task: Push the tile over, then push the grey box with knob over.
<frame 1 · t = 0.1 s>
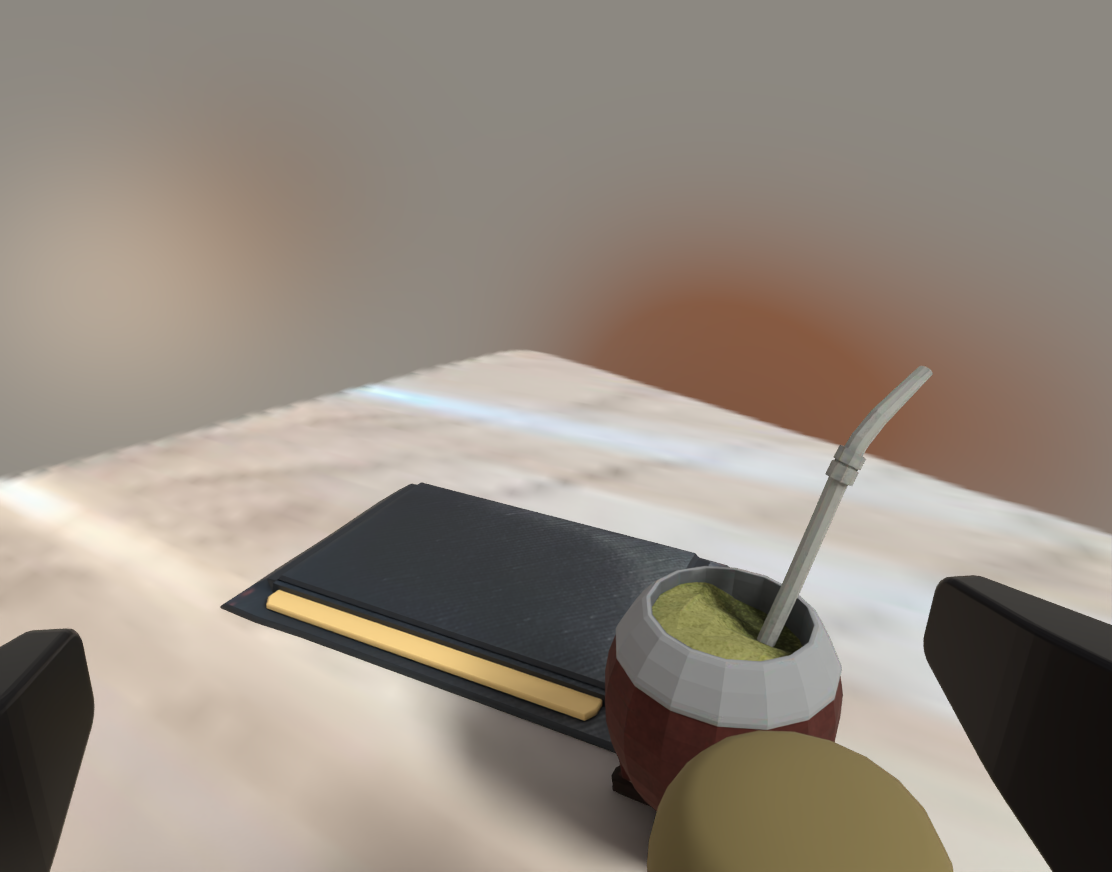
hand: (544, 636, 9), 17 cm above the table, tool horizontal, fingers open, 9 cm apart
mate gourd: (711, 813, 28), on the table
wallet: (493, 602, 40), on the table
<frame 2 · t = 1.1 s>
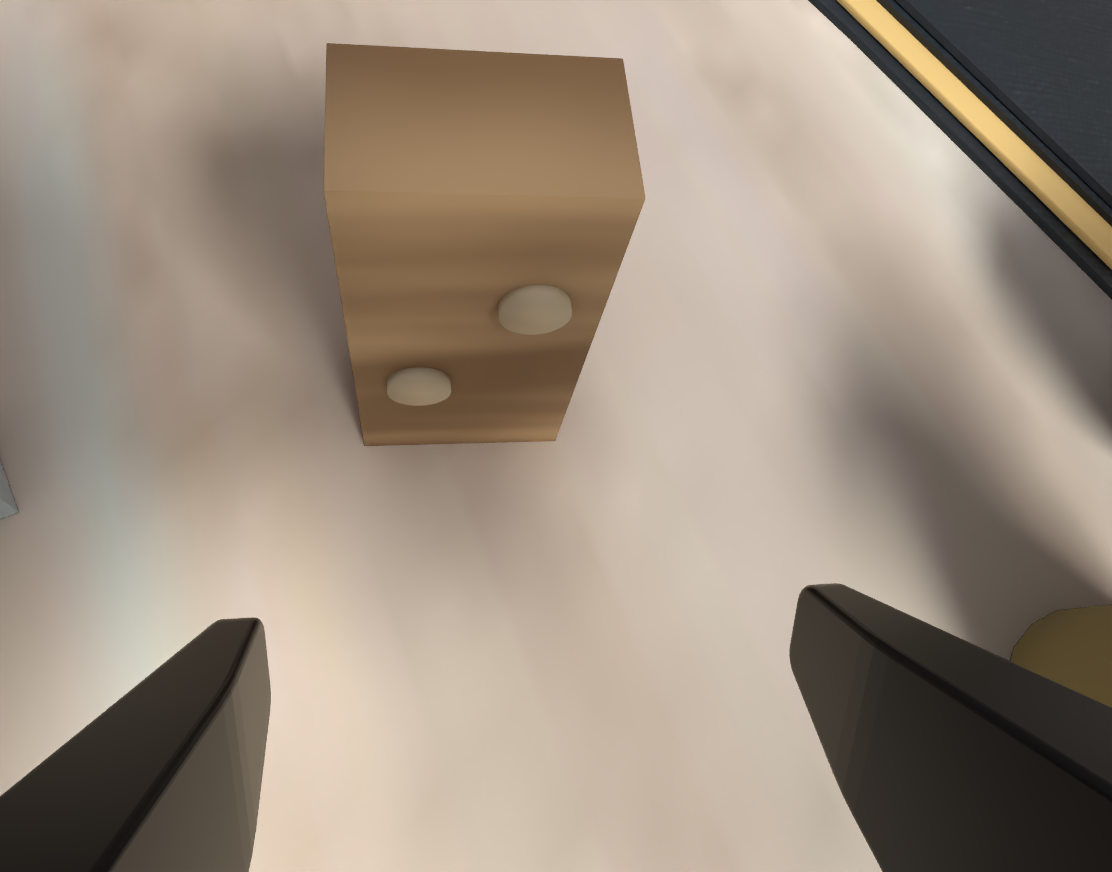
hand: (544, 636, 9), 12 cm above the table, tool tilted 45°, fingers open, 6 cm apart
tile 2: (458, 392, 23), on the table
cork: (1107, 724, 22), on the table
wallet: (1059, 86, 33), on the table
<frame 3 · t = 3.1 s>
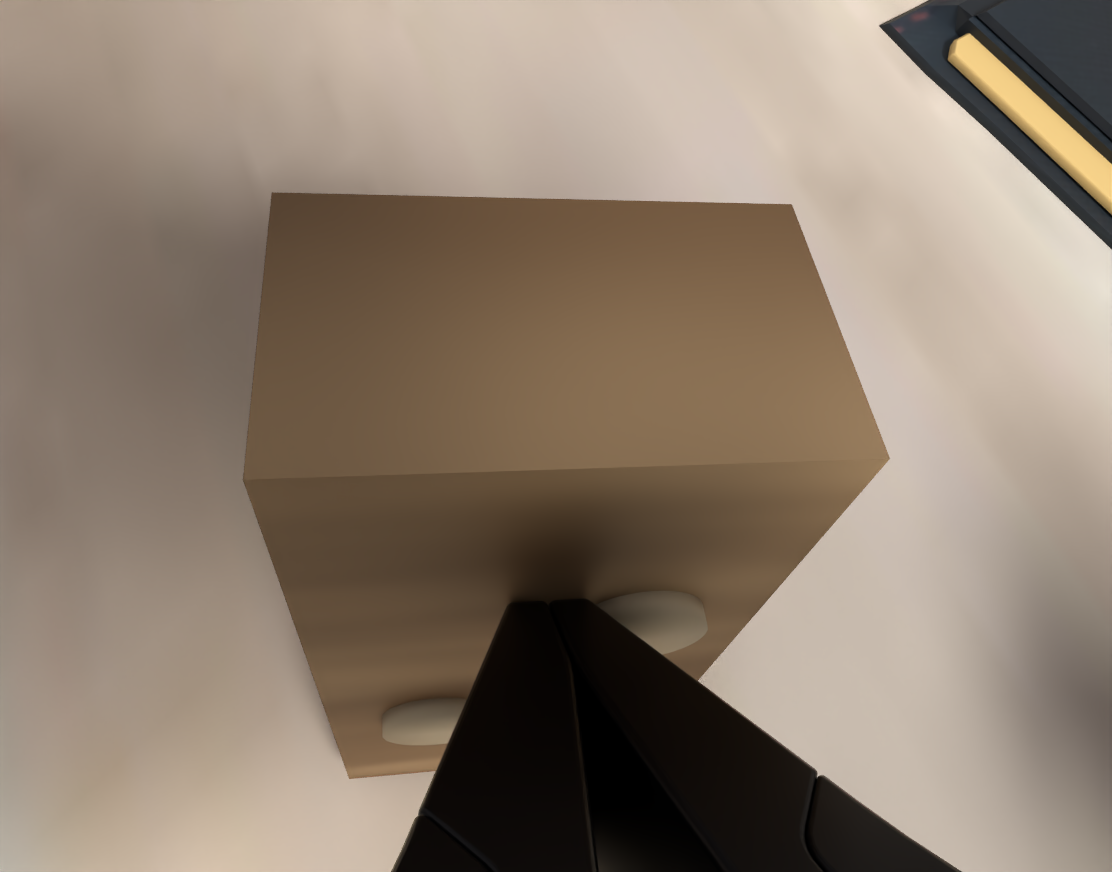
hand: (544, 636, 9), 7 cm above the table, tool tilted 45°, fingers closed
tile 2: (490, 679, 15), on the table, tilted 10°
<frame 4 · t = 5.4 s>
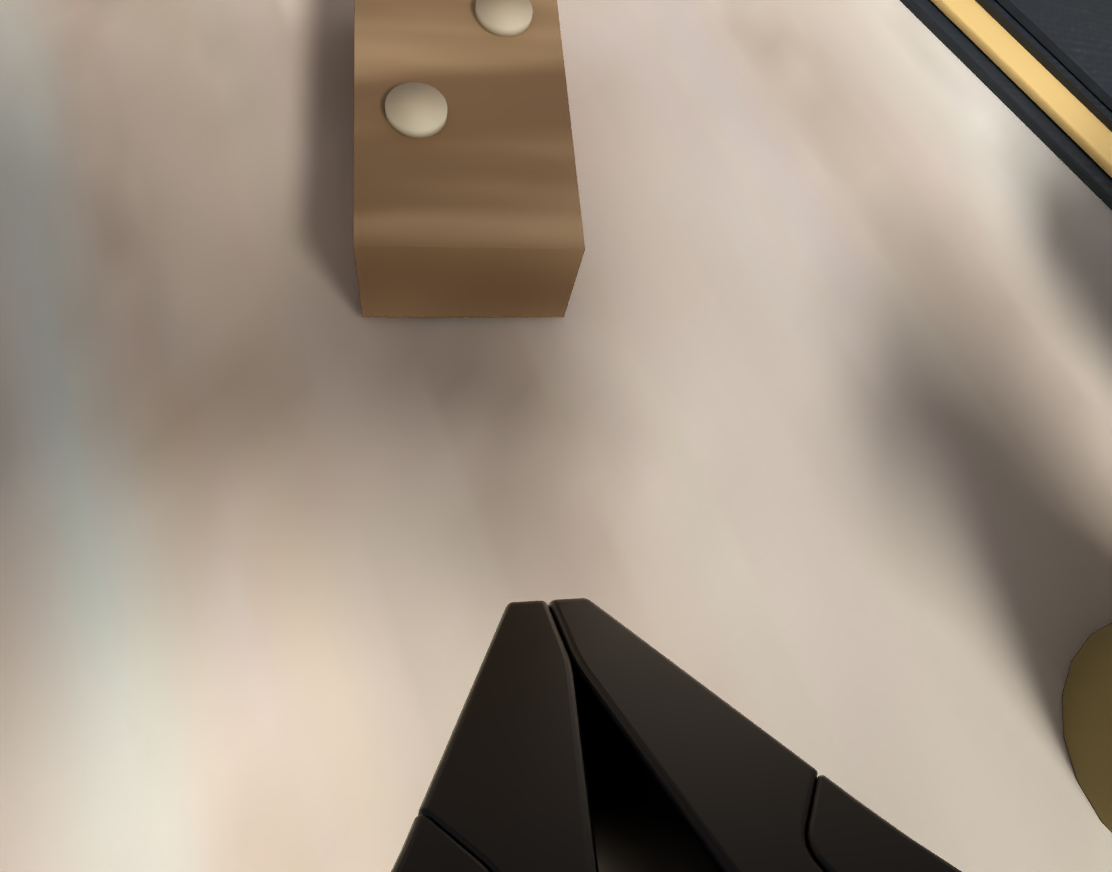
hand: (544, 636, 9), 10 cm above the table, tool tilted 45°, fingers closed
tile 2: (468, 284, 20), point 2 cm above the table, tilted 90°
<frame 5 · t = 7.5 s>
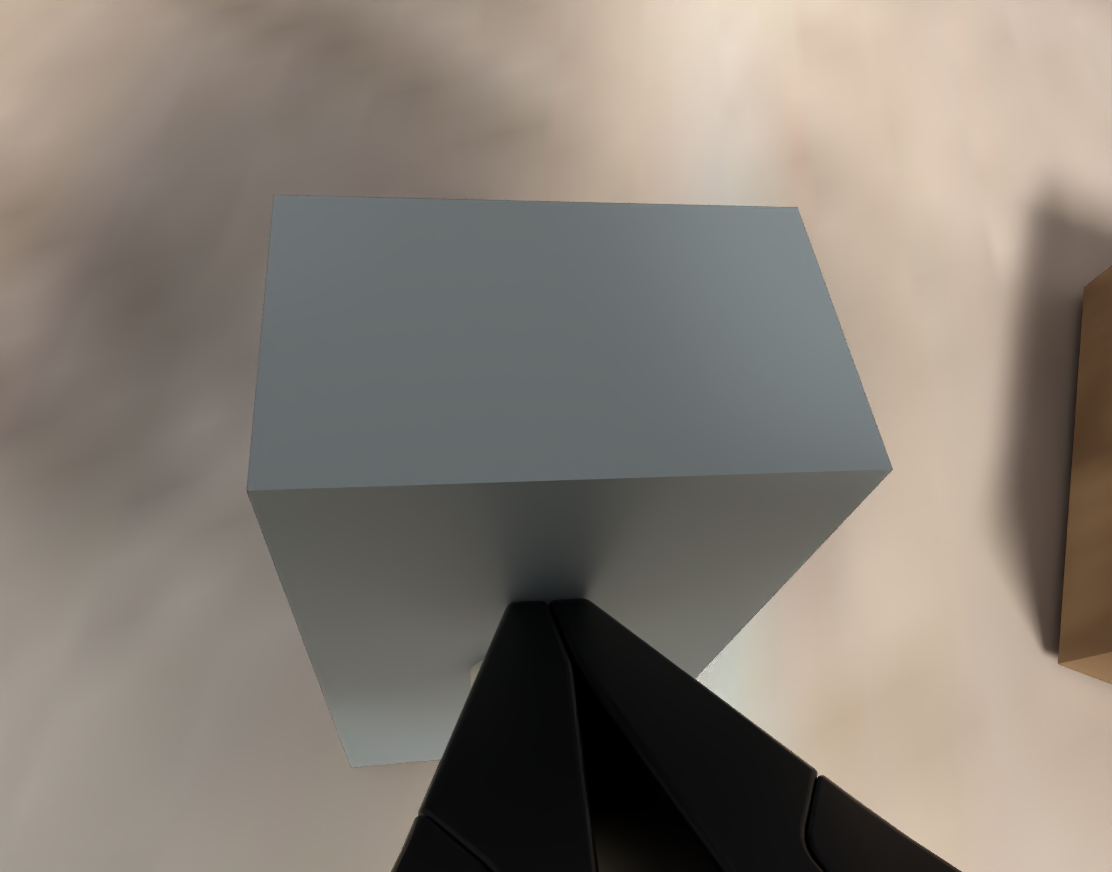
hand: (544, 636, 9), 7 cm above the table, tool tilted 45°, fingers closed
grey box with knob 1: (490, 670, 16), on the table, tilted 8°
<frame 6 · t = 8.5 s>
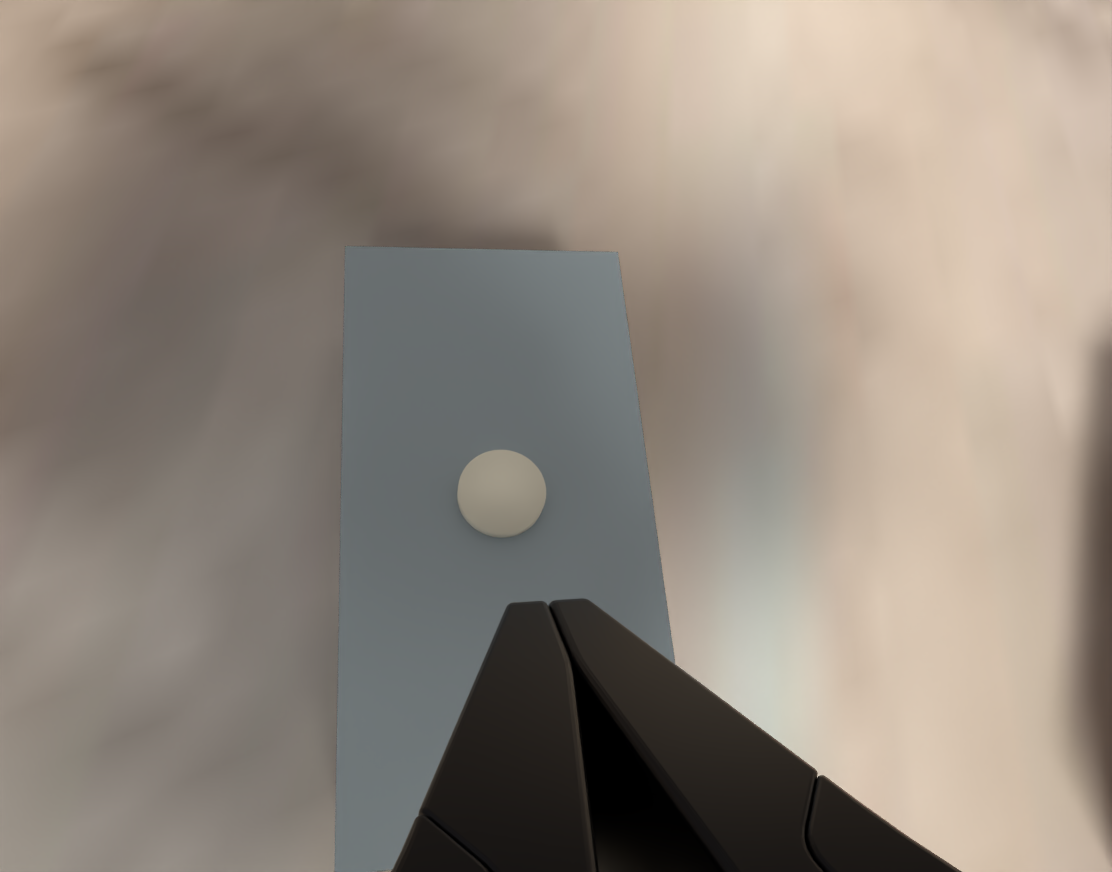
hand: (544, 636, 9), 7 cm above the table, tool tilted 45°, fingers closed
grey box with knob 1: (512, 851, 13), point 2 cm above the table, tilted 91°
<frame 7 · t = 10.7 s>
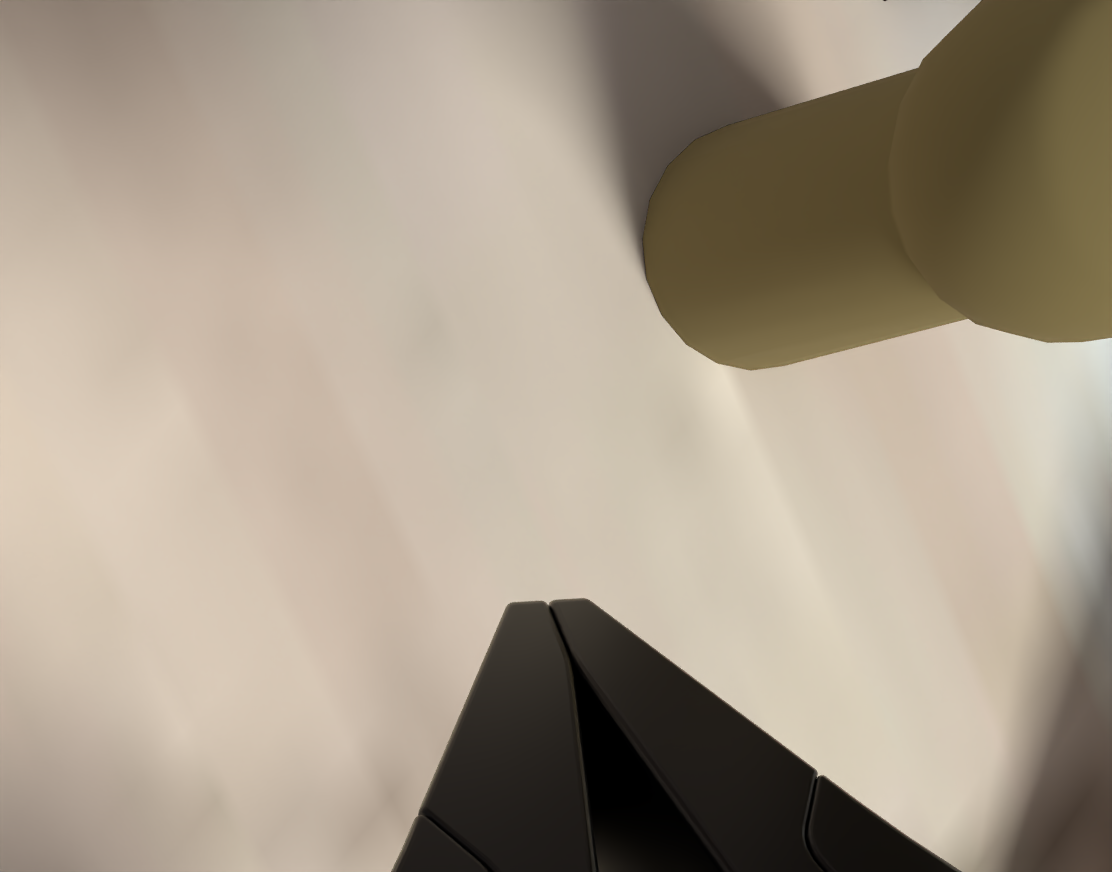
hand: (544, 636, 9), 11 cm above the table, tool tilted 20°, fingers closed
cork: (752, 249, 21), on the table
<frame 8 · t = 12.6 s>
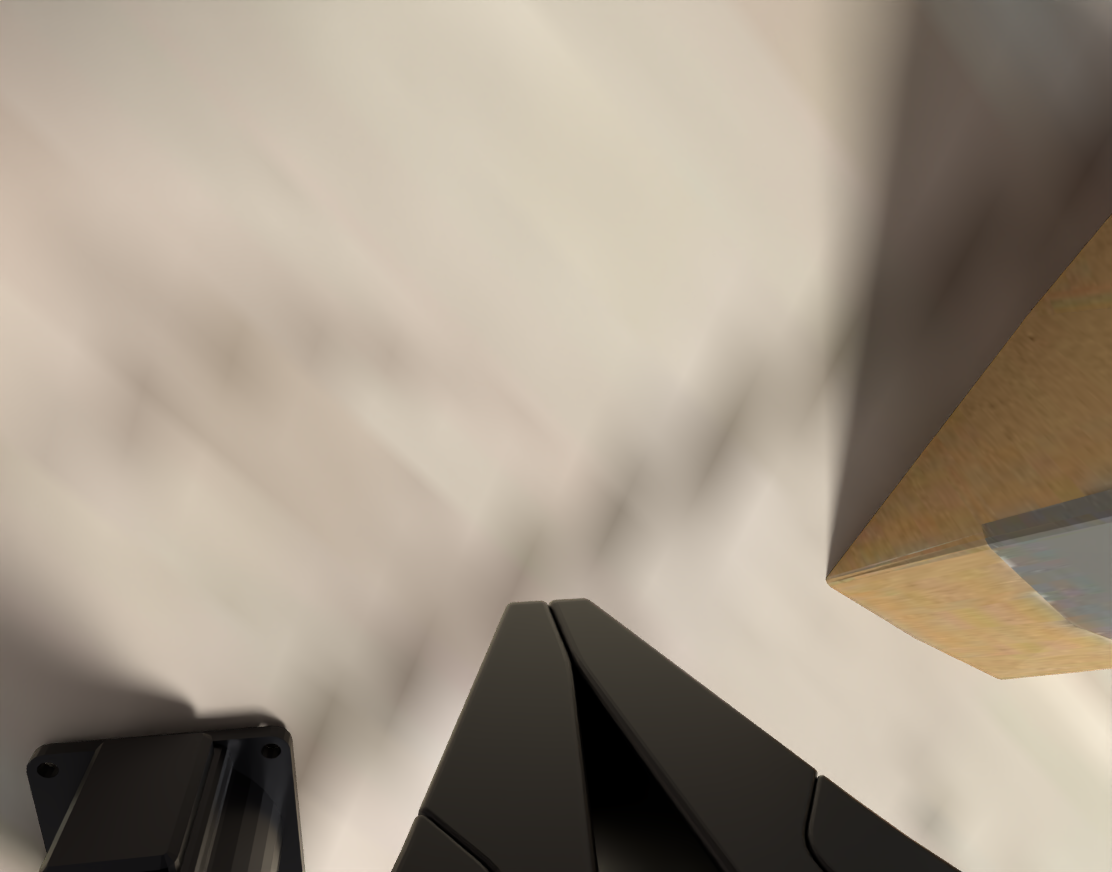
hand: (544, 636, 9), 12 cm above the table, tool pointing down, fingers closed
sandwich container: (1075, 432, 24), on the table
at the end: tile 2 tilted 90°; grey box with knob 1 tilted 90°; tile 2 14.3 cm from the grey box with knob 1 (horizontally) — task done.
